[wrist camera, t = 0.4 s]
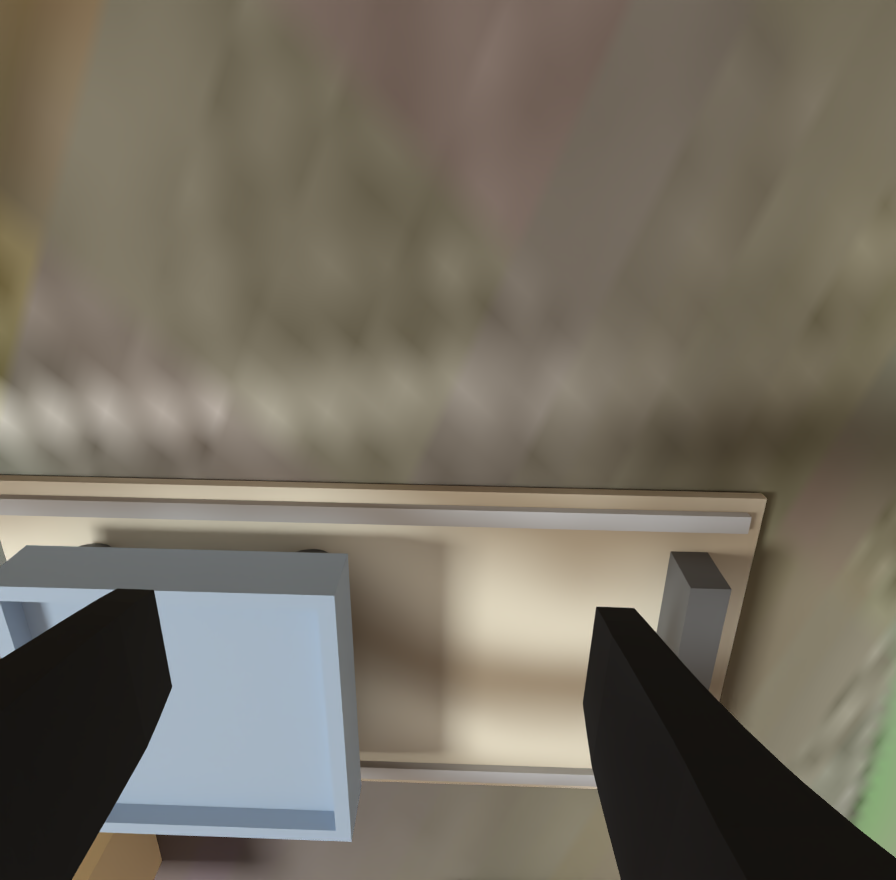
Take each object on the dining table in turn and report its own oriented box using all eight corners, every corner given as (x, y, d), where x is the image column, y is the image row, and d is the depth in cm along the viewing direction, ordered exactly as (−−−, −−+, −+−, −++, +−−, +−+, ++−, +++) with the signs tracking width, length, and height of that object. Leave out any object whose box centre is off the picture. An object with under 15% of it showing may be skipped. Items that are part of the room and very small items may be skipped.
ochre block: (162, 859, 28) (101, 994, 23) (52, 854, 28) (-31, 988, 23) (143, 778, 26) (72, 908, 21) (24, 774, 26) (-72, 902, 21)
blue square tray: (366, 755, 24) (351, 841, 21) (111, 746, 24) (58, 830, 21) (354, 531, 20) (334, 595, 17) (52, 523, 20) (-23, 585, 17)
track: (694, 783, 25) (716, 842, 23) (76, 762, 25) (39, 817, 23) (761, 492, 20) (798, 532, 18) (-10, 474, 20) (-68, 510, 18)
